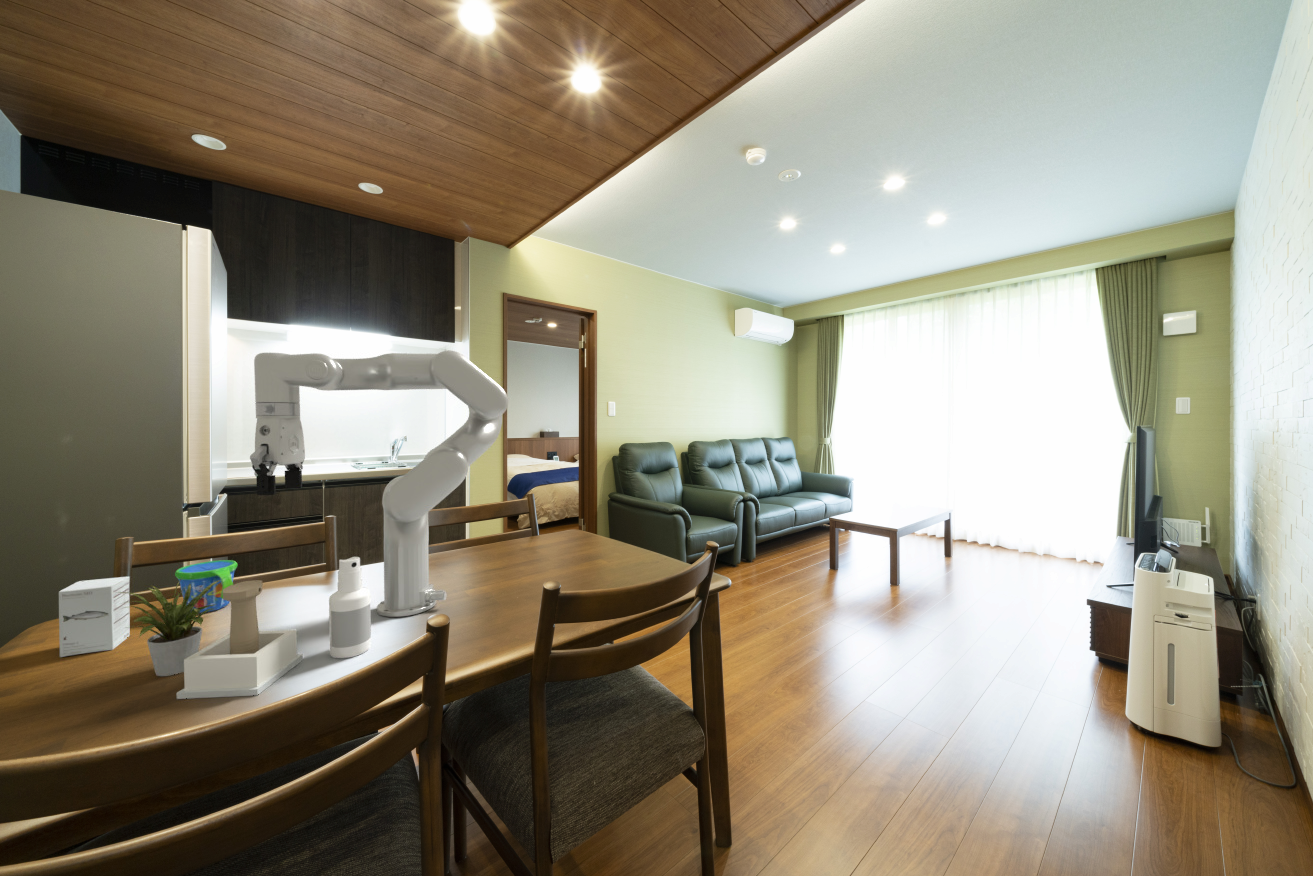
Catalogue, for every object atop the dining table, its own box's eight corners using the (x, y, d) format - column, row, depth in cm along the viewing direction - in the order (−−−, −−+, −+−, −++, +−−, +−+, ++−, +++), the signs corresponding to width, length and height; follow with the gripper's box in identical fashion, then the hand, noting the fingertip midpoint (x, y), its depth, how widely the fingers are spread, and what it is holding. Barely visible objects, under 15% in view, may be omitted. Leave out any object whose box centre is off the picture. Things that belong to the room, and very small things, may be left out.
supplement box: (57, 658, 91) (55, 591, 91) (80, 642, 98) (78, 579, 97) (113, 650, 95) (111, 585, 94) (132, 635, 101) (130, 574, 101)
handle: (270, 660, 89) (268, 579, 88) (252, 678, 83) (250, 591, 82) (238, 664, 88) (236, 581, 87) (217, 683, 81) (215, 594, 81)
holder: (302, 659, 92) (302, 627, 91) (257, 695, 80) (256, 659, 80) (233, 662, 90) (232, 630, 90) (176, 698, 78) (175, 662, 78)
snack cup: (163, 610, 114) (162, 567, 114) (219, 595, 124) (218, 556, 123) (194, 623, 107) (193, 577, 107) (251, 606, 117) (251, 564, 116)
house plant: (83, 701, 78) (80, 599, 77) (134, 661, 90) (131, 573, 90) (199, 682, 83) (197, 587, 83) (231, 647, 96) (230, 565, 95)
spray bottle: (340, 662, 91) (339, 566, 90) (322, 653, 94) (321, 560, 94) (378, 648, 96) (377, 557, 96) (359, 639, 100) (358, 552, 99)
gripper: (273, 411, 97) (275, 497, 97) (318, 412, 114) (320, 485, 114) (230, 411, 95) (233, 498, 96) (282, 412, 113) (284, 486, 113)
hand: (280, 491), depth 105 cm, fingers open, 9 cm apart
